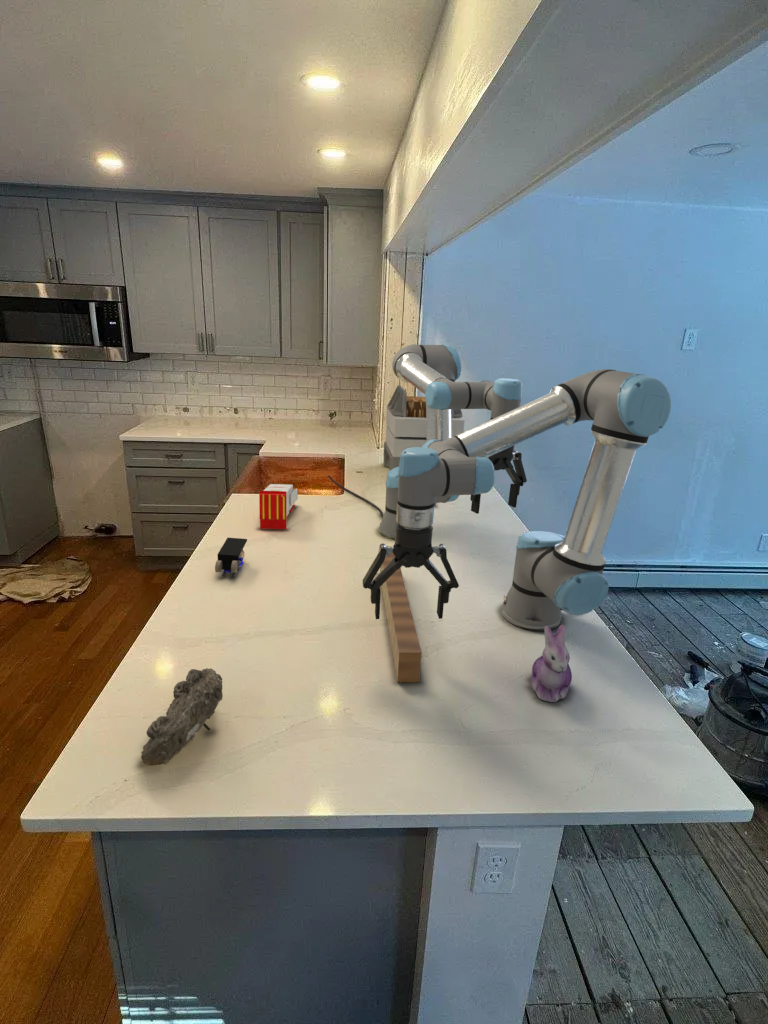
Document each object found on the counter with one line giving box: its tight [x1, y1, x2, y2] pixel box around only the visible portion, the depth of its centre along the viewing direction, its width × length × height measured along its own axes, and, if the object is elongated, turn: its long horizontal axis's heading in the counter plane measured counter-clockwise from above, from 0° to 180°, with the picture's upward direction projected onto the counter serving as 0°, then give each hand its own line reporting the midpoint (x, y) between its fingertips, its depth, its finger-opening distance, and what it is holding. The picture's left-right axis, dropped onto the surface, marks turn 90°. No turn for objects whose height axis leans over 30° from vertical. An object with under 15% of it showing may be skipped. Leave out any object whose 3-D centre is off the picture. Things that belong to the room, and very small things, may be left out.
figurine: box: [530, 624, 573, 703], centre depth 118 cm, size 9×10×15 cm
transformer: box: [383, 384, 465, 471], centre depth 268 cm, size 34×33×41 cm
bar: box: [379, 553, 422, 683], centre depth 144 cm, size 52×5×8 cm, turn 5°
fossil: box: [140, 667, 224, 767], centre depth 103 cm, size 22×10×15 cm
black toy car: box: [214, 537, 248, 578], centre depth 166 cm, size 7×8×15 cm
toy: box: [258, 483, 299, 530], centre depth 210 cm, size 12×13×30 cm
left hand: (493, 509), depth 163 cm, fingers open, 13 cm apart
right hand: (408, 615), depth 122 cm, fingers open, 13 cm apart
